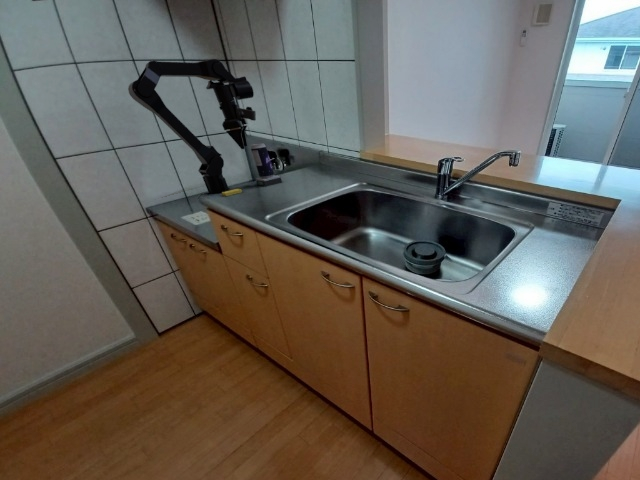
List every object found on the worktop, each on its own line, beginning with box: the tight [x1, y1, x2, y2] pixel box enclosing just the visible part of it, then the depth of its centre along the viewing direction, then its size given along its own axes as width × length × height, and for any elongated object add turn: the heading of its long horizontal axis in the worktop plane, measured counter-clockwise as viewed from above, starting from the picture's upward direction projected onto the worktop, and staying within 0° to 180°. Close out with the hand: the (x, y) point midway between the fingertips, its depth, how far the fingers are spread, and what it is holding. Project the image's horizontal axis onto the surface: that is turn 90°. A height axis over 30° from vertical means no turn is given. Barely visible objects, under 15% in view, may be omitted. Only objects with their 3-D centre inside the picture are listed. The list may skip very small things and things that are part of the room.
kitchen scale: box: [255, 174, 283, 187], centre depth 129 cm, size 7×7×2 cm
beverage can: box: [250, 142, 275, 179], centre depth 125 cm, size 6×6×12 cm
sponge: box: [221, 188, 243, 197], centre depth 119 cm, size 6×4×1 cm, turn 136°
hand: (244, 147), depth 128 cm, fingers open, 9 cm apart
